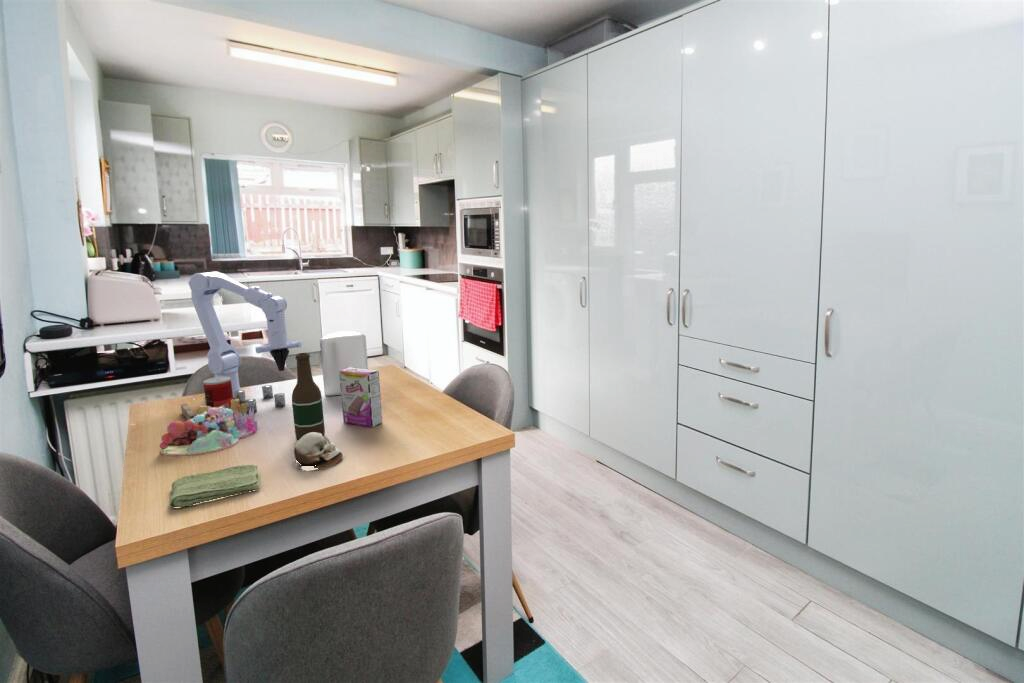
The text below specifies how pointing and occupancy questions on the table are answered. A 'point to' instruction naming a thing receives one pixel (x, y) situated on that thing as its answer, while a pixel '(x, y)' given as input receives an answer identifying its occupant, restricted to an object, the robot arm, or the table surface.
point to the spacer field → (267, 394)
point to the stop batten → (187, 411)
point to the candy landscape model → (209, 430)
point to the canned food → (218, 391)
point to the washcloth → (214, 485)
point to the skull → (316, 451)
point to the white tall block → (341, 357)
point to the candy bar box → (361, 396)
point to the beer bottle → (306, 400)
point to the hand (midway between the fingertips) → (281, 370)
